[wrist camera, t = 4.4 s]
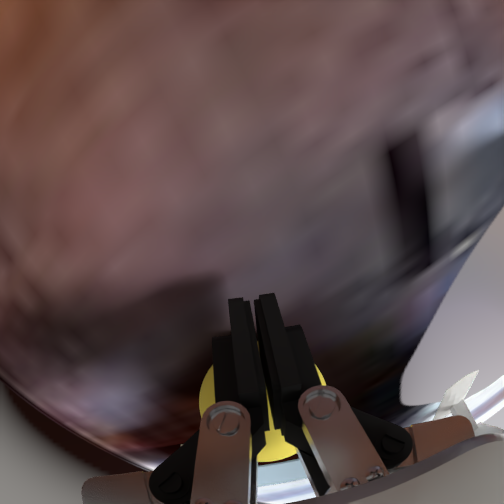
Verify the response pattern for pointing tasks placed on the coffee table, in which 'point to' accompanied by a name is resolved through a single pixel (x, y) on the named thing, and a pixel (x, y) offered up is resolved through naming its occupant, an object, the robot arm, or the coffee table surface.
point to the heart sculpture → (462, 405)
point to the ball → (274, 439)
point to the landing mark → (280, 473)
